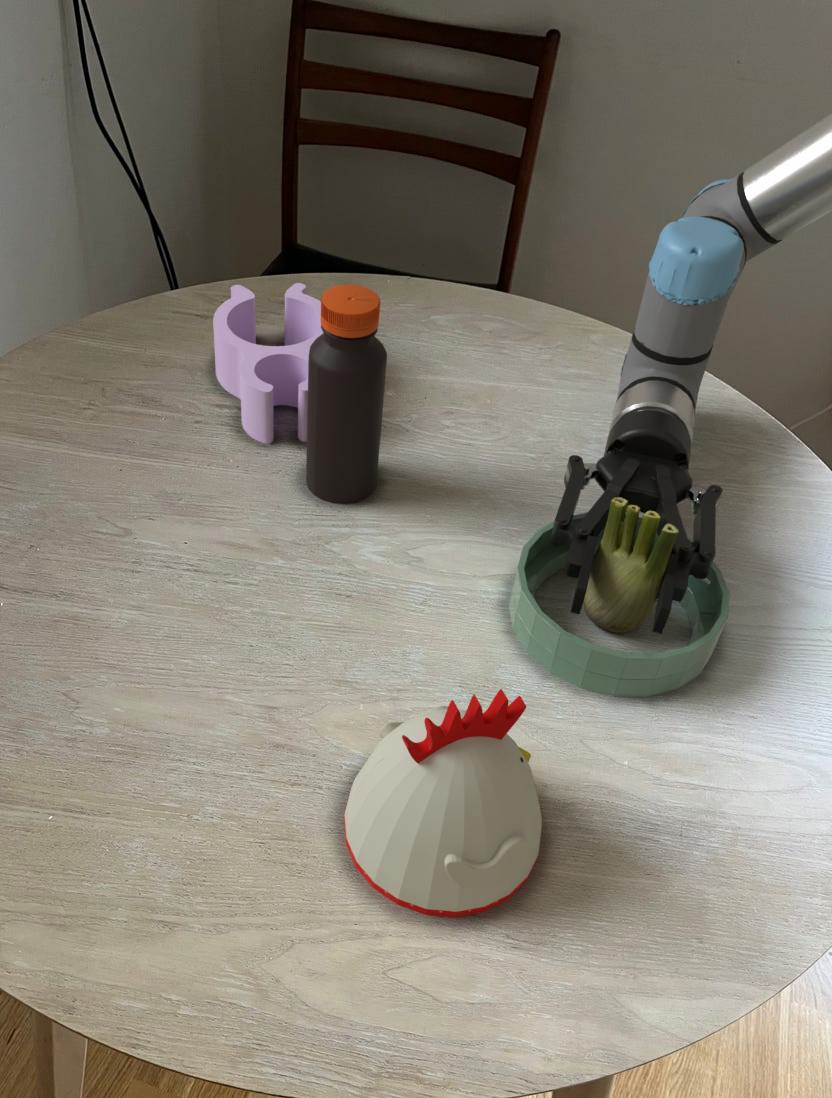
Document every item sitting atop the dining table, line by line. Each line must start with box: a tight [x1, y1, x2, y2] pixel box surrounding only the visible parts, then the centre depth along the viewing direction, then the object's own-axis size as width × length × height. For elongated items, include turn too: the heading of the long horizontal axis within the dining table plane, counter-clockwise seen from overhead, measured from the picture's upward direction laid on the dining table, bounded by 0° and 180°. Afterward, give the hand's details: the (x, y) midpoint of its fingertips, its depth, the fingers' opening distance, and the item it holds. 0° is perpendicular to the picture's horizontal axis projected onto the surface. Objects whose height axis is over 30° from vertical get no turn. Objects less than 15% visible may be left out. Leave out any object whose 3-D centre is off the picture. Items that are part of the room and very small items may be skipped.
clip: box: [212, 282, 323, 445], centre depth 111 cm, size 20×12×7 cm, turn 8°
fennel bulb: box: [583, 497, 679, 633], centre depth 87 cm, size 6×5×12 cm
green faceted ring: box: [508, 511, 731, 698], centre depth 90 cm, size 17×17×6 cm
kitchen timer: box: [343, 688, 543, 918], centre depth 72 cm, size 14×14×15 cm
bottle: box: [305, 284, 388, 505], centre depth 96 cm, size 7×7×20 cm
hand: (619, 610), depth 84 cm, fingers closed on fennel bulb, 6 cm apart
